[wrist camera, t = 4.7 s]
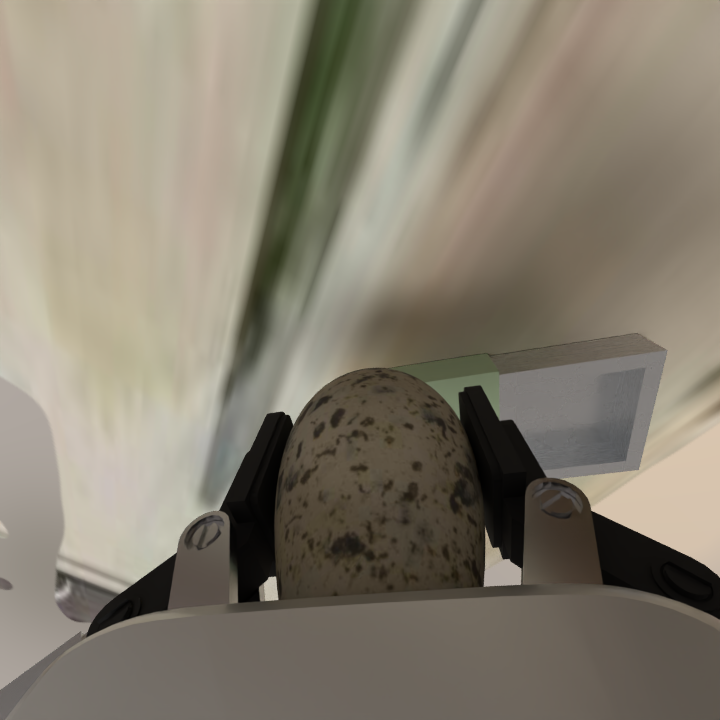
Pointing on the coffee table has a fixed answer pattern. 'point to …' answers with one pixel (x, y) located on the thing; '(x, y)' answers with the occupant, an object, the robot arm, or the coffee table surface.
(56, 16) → the coffee table surface
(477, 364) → the deck
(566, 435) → the tray
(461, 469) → the decorative egg
